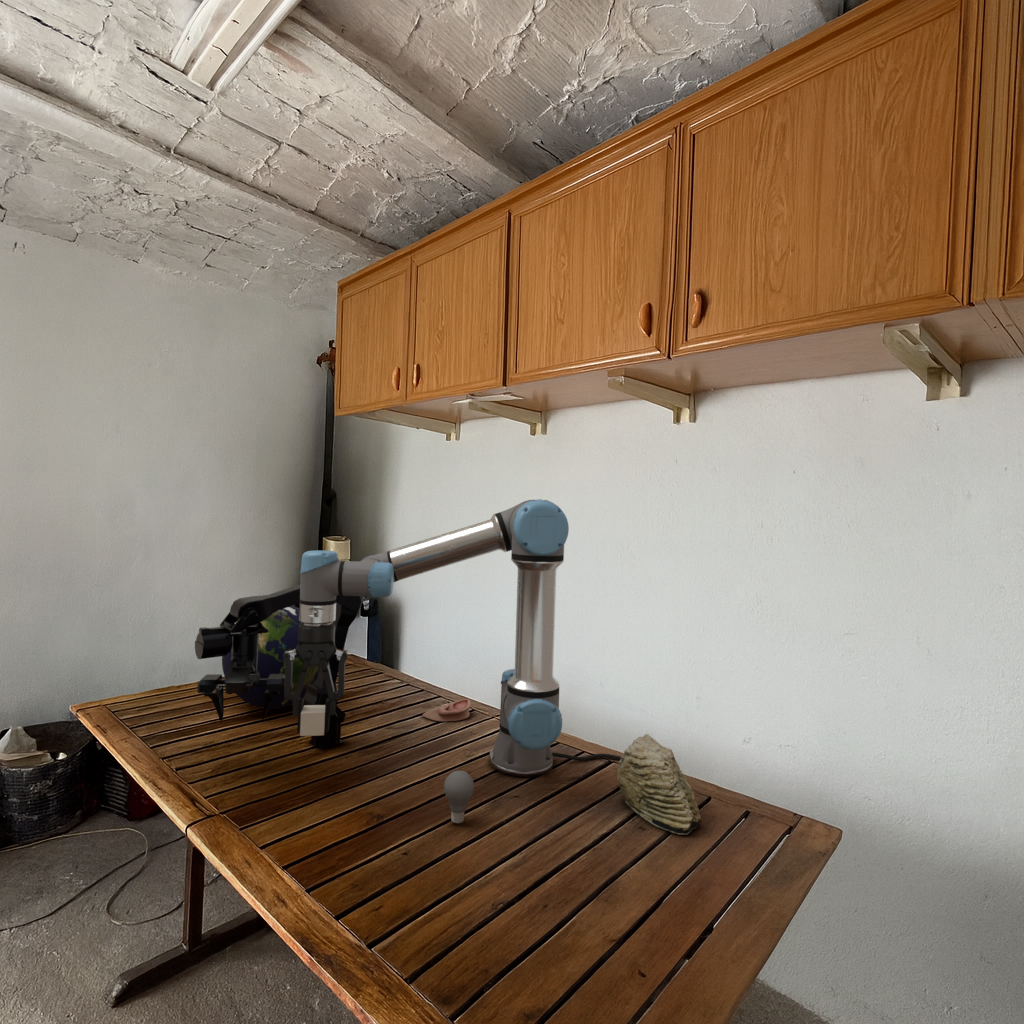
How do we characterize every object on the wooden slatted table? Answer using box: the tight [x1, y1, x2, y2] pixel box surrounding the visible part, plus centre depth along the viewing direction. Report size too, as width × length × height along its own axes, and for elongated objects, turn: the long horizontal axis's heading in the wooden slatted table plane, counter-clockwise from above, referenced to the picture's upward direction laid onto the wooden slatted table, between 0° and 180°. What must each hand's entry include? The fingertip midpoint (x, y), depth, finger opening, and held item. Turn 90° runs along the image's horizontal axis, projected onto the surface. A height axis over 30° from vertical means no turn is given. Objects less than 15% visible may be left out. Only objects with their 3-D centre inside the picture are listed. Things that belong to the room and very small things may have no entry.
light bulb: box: [443, 770, 475, 824], centre depth 125 cm, size 6×6×10 cm
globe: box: [221, 605, 320, 709], centre depth 188 cm, size 30×30×30 cm
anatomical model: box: [422, 698, 471, 722], centre depth 187 cm, size 13×4×12 cm
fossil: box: [616, 733, 702, 836], centre depth 132 cm, size 9×18×15 cm, turn 46°
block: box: [299, 704, 325, 737], centre depth 136 cm, size 5×5×5 cm
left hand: (242, 719), depth 148 cm, fingers open, 9 cm apart
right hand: (313, 730), depth 136 cm, fingers closed on block, 5 cm apart
